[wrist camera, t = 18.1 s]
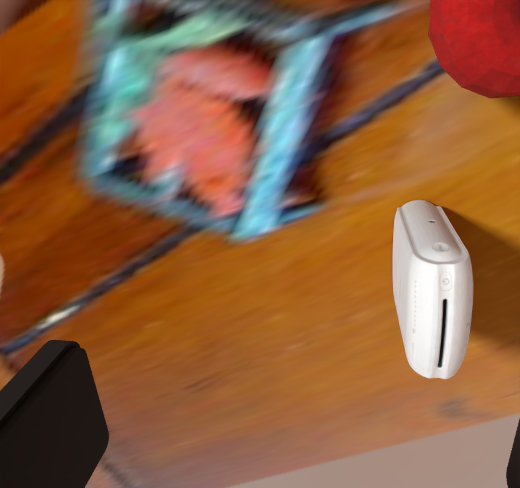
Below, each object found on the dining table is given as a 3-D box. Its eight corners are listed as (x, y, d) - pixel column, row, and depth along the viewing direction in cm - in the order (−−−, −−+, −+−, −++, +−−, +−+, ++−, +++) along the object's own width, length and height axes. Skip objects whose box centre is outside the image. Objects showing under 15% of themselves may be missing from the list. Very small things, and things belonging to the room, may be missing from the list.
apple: (415, -60, 30) (452, -105, 20) (571, -83, 28) (692, -145, 19) (409, 91, 34) (438, 113, 24) (545, 79, 32) (635, 98, 23)
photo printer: (391, 199, 38) (412, 265, 27) (444, 196, 37) (488, 264, 26) (389, 300, 42) (407, 393, 31) (436, 300, 42) (472, 396, 30)
